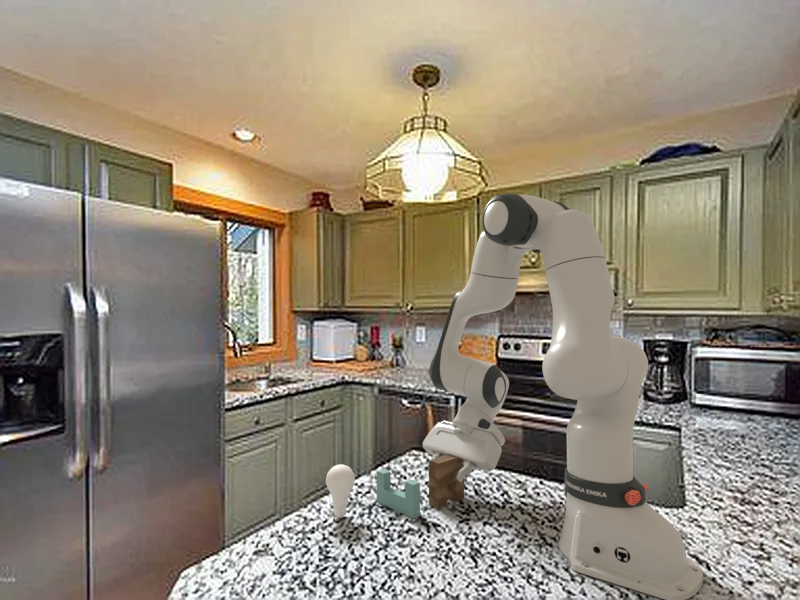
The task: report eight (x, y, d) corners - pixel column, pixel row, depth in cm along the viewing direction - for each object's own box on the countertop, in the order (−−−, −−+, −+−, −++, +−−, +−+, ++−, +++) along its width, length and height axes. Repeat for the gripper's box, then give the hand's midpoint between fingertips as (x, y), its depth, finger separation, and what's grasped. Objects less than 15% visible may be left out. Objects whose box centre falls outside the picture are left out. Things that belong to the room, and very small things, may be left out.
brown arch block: (464, 497, 106) (464, 455, 107) (438, 509, 100) (438, 463, 101) (454, 494, 108) (454, 452, 109) (428, 504, 102) (428, 460, 103)
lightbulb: (349, 525, 92) (349, 470, 93) (321, 522, 93) (321, 468, 94) (358, 512, 98) (358, 461, 99) (331, 510, 99) (331, 459, 100)
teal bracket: (419, 515, 97) (419, 482, 97) (413, 518, 95) (413, 484, 96) (383, 499, 105) (383, 469, 106) (376, 501, 104) (376, 470, 104)
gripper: (433, 412, 117) (406, 458, 110) (500, 425, 102) (474, 480, 95) (445, 426, 120) (419, 472, 113) (511, 442, 105) (486, 495, 98)
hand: (445, 476), depth 104 cm, fingers open, 5 cm apart
